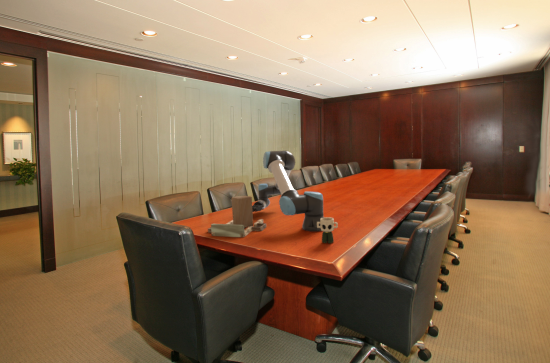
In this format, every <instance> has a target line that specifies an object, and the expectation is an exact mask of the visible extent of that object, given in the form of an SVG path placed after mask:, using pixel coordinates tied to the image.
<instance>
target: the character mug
mask: <svg viewBox="0 0 550 363" xmlns="http://www.w3.org/2000/svg"><path fill="white" fill-rule="evenodd" d="M319 224H320V225H321V226H319ZM338 225H339V223H338V222H337V221H335V219H334V217H330V216H329V217H327V216H326V217H325V216H324V218H321V219H320V222H317V228H321V231H320V232H322V234H321V243H323V244H327V243H328V244H332V243H334V240H335V239H334V235H333V231H334V230H335V229H337V228H339V226H338Z"/></svg>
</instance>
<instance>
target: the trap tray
mask: <svg viewBox="0 0 550 363" xmlns="http://www.w3.org/2000/svg"><path fill="white" fill-rule="evenodd" d="M266 228H267V223H266V222H265V223H264V219H263V218H260V219H258V220H257V221H256V222H253V226H250V227H246V228H244V225H234V224H233V219H232V220H230V221H228V222H227V223H211V224H210V227H208V228H207V233H210V234H211V237H212V236H213V237H226V238H227V237H229V238H244V237H246V236H247V235H249V234H251V232H262V231H264V230H265V229H266Z"/></svg>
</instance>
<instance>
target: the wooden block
mask: <svg viewBox="0 0 550 363" xmlns="http://www.w3.org/2000/svg"><path fill="white" fill-rule="evenodd" d="M252 206H253V199H252V196H249V195H238V196H232V197H231V210H232V211H231V212H232V214H231V215H232V220H233V224H234V225H244V229H247V228H248V227H250V226H253V227H254V217H253V213H254V212H252Z"/></svg>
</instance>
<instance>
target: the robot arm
mask: <svg viewBox="0 0 550 363" xmlns="http://www.w3.org/2000/svg"><path fill="white" fill-rule="evenodd" d="M262 158H263V159H262V164H263V165H262V166H263V168H264V169H267V170H268V172H270V173H272V176H273V179H274V180H275V184H274V185H268V183H259V184H258V186H257V188H258V190H257V192H258V200H257V201H255V202H254V203H253V204H252V212H253V213H257V212H261V211H262V210H263V211H264V210H265V209H266V208H268V207H269V206H270V204H271V201H270V199H269V196H272V195H280V198H279V201H278V204H279V209H280V211H281V213H282V214H283V215H285V216H294V215H302V214H304V217H303V222H302V225H301V226H302V227H301V228H302V230H303V231H306V232H322V231H321V228H317V222H320V219H321V218H324V217H325V216H324V196H323V193H321V192H318V191H306V190H305V191H304V192H303V193H302V194H299V192H298V190H296V189H294V186H293V185H292V183H291V182H292V181H291V180H290V178H289V177H290V174H291V172H292V171H293V170H294V169H295V166H296V158H295V156H294V154H293V153H292V152H291V151H289V150H271V151H265V152H264V154H263V157H262ZM319 226H321V225H320V224H319Z"/></svg>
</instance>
